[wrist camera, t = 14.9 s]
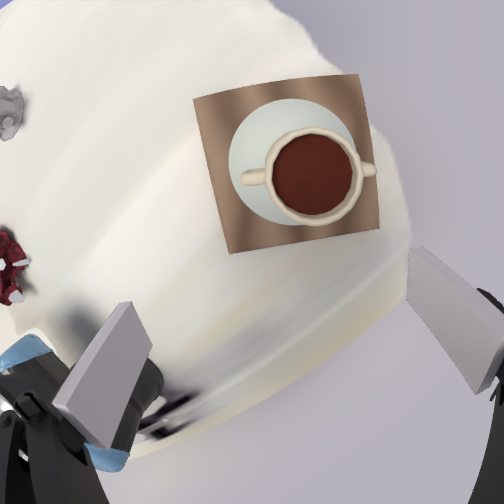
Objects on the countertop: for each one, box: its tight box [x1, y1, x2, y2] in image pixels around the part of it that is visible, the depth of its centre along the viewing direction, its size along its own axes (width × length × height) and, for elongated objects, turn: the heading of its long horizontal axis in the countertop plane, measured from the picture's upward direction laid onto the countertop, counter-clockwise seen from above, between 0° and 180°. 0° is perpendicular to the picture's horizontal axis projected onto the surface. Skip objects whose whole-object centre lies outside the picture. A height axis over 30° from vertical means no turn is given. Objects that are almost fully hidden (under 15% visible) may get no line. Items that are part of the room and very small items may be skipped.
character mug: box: [239, 126, 377, 226], centre depth 24 cm, size 11×7×13 cm, turn 97°
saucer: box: [229, 99, 356, 225], centre depth 30 cm, size 15×15×1 cm
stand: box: [193, 74, 379, 254], centre depth 32 cm, size 20×20×2 cm
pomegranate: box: [0, 230, 30, 306], centre depth 36 cm, size 15×13×9 cm
